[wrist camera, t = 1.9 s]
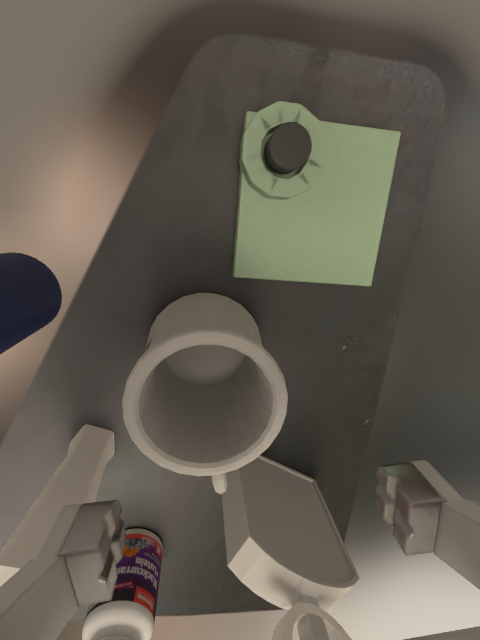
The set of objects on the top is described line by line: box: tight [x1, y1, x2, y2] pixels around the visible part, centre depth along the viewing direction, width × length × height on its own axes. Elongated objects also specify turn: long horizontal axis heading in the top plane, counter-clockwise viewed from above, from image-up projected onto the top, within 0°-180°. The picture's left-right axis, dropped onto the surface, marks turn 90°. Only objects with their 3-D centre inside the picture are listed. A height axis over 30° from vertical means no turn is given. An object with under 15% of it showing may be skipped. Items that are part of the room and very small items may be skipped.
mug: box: [122, 293, 288, 494], centre depth 22 cm, size 12×9×10 cm
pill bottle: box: [82, 529, 163, 640], centre depth 27 cm, size 5×5×10 cm
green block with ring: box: [232, 101, 401, 286], centre depth 23 cm, size 11×11×3 cm
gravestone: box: [222, 455, 359, 640], centre depth 22 cm, size 3×9×18 cm, turn 58°
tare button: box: [264, 122, 312, 174], centre depth 20 cm, size 3×3×2 cm
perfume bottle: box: [0, 424, 115, 587], centre depth 21 cm, size 5×4×15 cm
